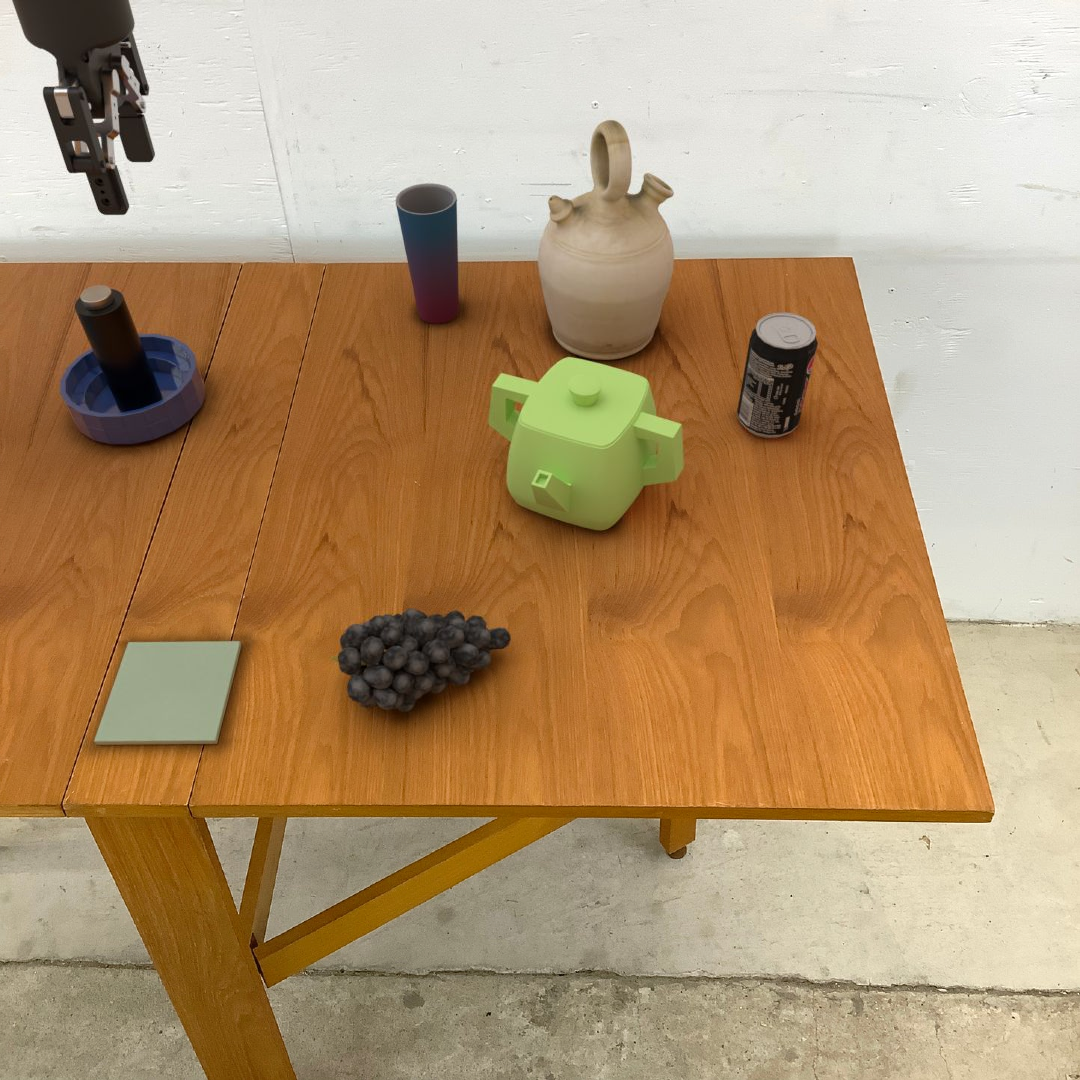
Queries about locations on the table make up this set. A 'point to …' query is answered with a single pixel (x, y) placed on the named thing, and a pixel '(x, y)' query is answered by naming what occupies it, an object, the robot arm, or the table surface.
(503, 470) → the table surface
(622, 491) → the teapot
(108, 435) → the bowl
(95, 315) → the bottle
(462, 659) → the fruit
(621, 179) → the jug
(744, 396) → the beverage can
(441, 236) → the cup
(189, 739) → the mat
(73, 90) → the robot arm
